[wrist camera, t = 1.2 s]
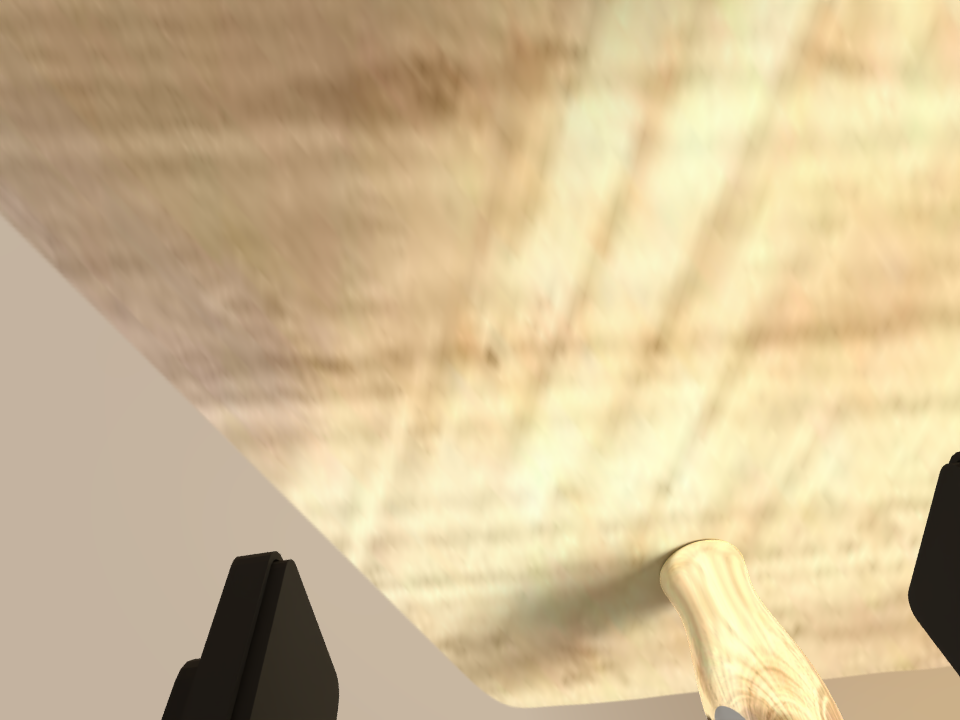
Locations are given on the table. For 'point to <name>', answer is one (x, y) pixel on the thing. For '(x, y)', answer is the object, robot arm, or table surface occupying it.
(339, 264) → the table surface
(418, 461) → the table surface
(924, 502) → the table surface
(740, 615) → the beer glass
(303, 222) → the table surface
